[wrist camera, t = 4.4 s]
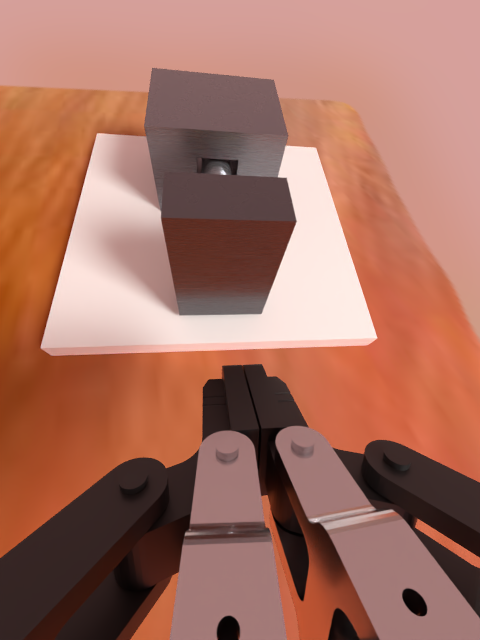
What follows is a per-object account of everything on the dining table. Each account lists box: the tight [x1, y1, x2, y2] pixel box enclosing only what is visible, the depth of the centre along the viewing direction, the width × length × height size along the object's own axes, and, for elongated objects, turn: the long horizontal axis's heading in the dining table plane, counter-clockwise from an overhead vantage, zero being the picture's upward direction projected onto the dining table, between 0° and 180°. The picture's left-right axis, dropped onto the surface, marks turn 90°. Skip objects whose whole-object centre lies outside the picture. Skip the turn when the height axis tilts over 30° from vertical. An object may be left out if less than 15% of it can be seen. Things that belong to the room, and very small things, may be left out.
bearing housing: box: [144, 68, 288, 211], centre depth 24 cm, size 10×8×7 cm
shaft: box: [161, 158, 297, 316], centre depth 20 cm, size 6×20×9 cm, turn 4°
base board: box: [41, 133, 377, 356], centre depth 26 cm, size 24×24×2 cm
